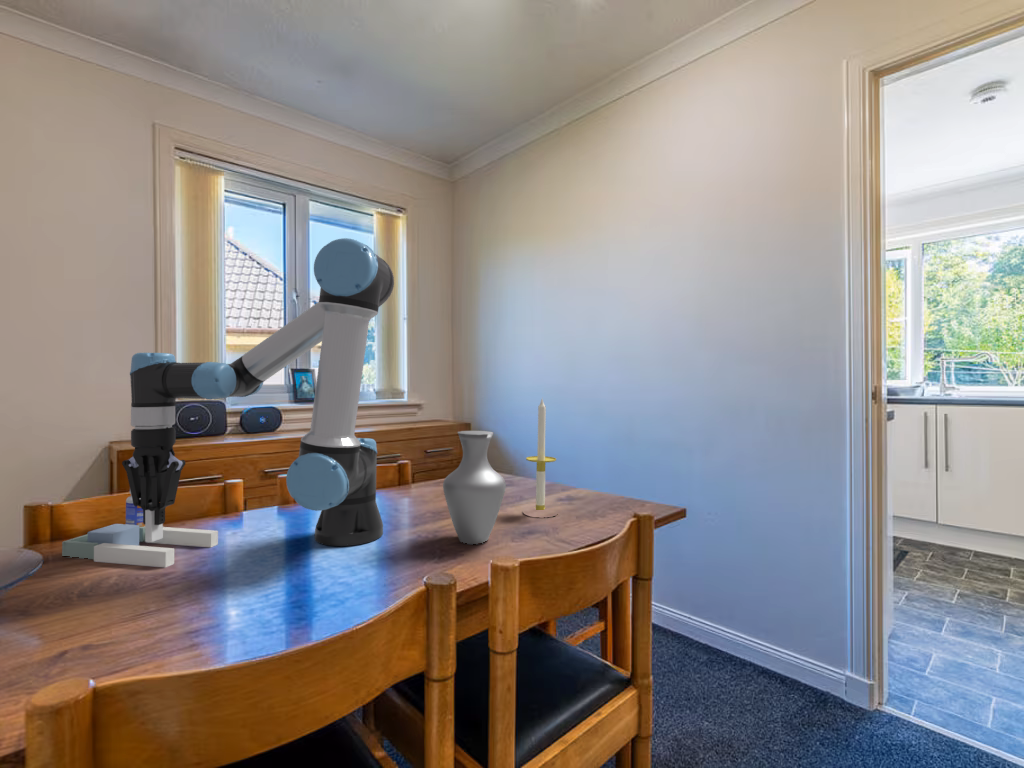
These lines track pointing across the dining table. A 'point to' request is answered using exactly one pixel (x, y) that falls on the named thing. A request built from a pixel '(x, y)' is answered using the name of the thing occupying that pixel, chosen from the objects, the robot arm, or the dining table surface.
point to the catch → (87, 546)
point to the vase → (474, 490)
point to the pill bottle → (133, 513)
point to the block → (115, 535)
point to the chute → (155, 548)
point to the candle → (541, 458)
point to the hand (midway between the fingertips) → (154, 539)
